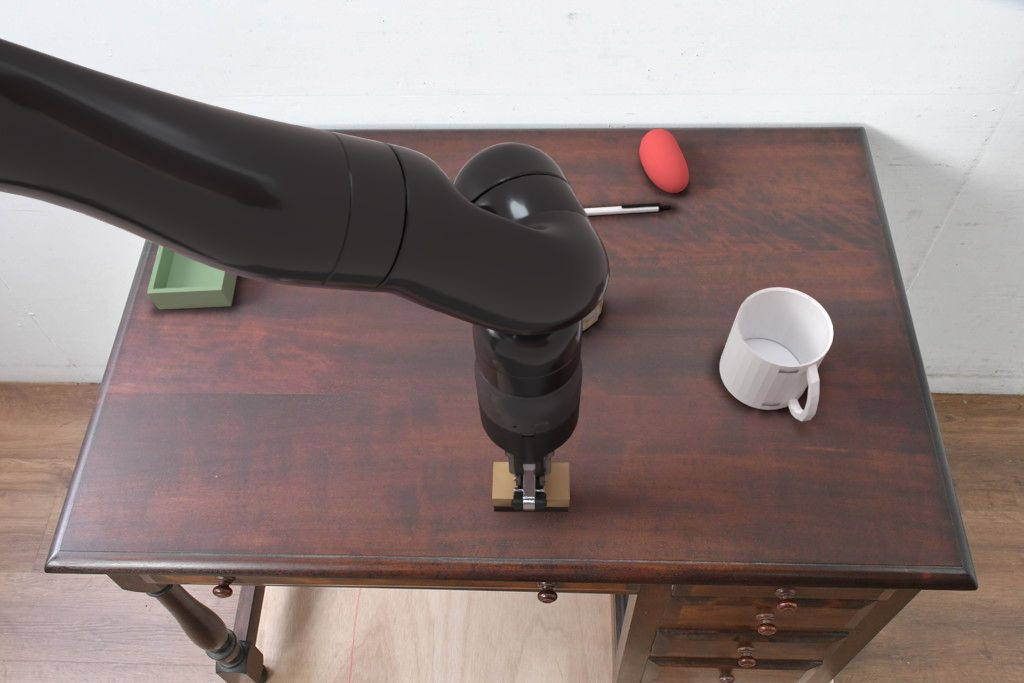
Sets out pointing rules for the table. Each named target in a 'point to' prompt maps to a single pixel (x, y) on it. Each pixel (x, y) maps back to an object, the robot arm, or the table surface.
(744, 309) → the mug
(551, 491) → the scrub brush
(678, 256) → the table surface
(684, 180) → the stress ball
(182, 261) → the tray
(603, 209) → the pen
